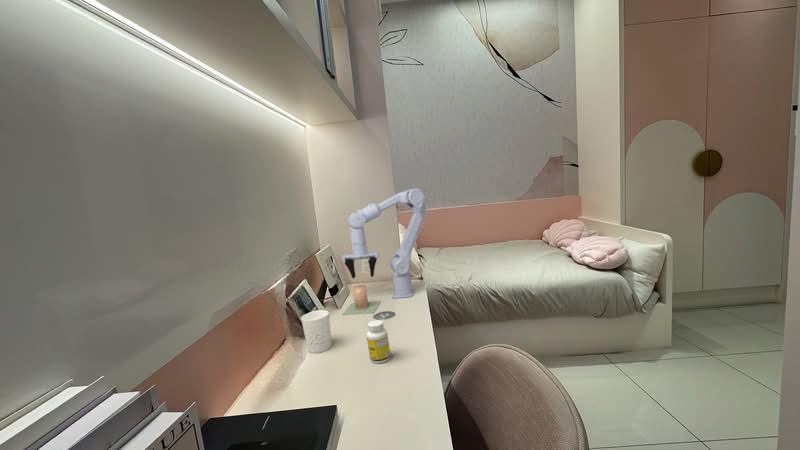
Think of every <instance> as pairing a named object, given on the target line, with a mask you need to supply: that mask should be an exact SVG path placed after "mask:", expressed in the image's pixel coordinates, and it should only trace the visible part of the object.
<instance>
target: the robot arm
mask: <svg viewBox="0 0 800 450" xmlns="http://www.w3.org/2000/svg"><path fill="white" fill-rule="evenodd" d="M426 199H427V198H426V195H425V194H424V192H423V190H421V189H420V188H417V187H416V188H409V189H406V190H403V191H399V192H398V193H396V194H393V195H392V196H391V197H388V198H387V199H385V200H383V201H381V202H380V203H374V202H373V203H371V202H370V203H367V206H365V207H363V208H361V209H357V210H356V212H353V213H350V214H349V215H348V218H347V221H346V222H347V224H348V226H349V235H350V237H349V238H350V242H351V243H350V244H351V250H352V251H351V252H352V253H351V254H350V253H349V254H344V255H341V259H342V262H344V265H345V266H346V268H347V269H348V271H349V272H350V275H351V278H352V279H355V278H356V271H355V260H364V259H366V260H367V259H368V261H367V262H368V265H369V266H368V267H369V272H370V277H371V278H373V277H374V276H375V267H376V264H377V259H378V258H380V255H379V252H377V251H376V252H368V247H367V240H366V233H365V232H366V231H365V229H364V227H365V226H364V224H367V223H369V222H371V221H373V220H375V219H377V218H379V217H380V216H381V214H382V212H383V211H385V210H387V209H390V208H391V207H393V206H396V205H397V204H406V205H407V206H409V208H410V210H411V212H412V215H411V218H410V220H409V223H408V225H407V228H406V231H405V234H404V236H403V238H402V241H401V244H400V246H399V247H398V250H396V253H395V255H394V256H393V257H392V258H391V259H390V262H389V266H390V268H391V269H392V272H391V278H392V285H393V286H392V287H393V294H392V299H401V298H402V299H403V298H412V297H413V295H414V292H415V288H413V287H412V278H411V273H410V268H411V265H410V263H411V260H412V252H413V248H414V247H415V245H416V242H417V239H418V237H419V234H420V231H421V229H422V226H423V225H424V224H423V223H424V221H425V218H426V216H427V204H426Z"/></svg>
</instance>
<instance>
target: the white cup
mask: <svg viewBox="0 0 800 450" xmlns="http://www.w3.org/2000/svg"><path fill="white" fill-rule="evenodd" d="M300 319H301V325H302V328H303V334H304V338H305V341H306V346H307V349H308V350H307V351H308V352H309V353H311V354H319V353H323V352H326V351H328V350H330V348H332V345H333V343H332V331H331V321H330V320H331V319H330V311H328V310H321V309H320V310H313V311H310V312H308V313H305V314H303V315H302V316H301V317H300Z"/></svg>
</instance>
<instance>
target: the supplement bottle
mask: <svg viewBox="0 0 800 450" xmlns="http://www.w3.org/2000/svg"><path fill="white" fill-rule="evenodd" d="M384 326H385V325H384V320H376V319H374V320H372V321H371V320H370V321H369V322H368V323H367V329H368V332H367V333H366V341H367V345H368V346H367V347H368V348H367V349H368V353H369V360H370V361H371V362H372V363H373V364H383V363H386V362H388V361H390V359H391V349H390V343H389V334H388V331H387V329H386V328H385V327H384Z"/></svg>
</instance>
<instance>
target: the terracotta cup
mask: <svg viewBox="0 0 800 450" xmlns="http://www.w3.org/2000/svg"><path fill="white" fill-rule="evenodd" d="M352 293H353V301H354V303H355V309H356V310H364V309H367V308H368V307H369V305H368V302H369V300H368V291H367V286H366V285H365V284H364V285H363V284H361V285H360V284H359V285H356V286H355V285H354V286H353V287H352Z"/></svg>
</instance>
